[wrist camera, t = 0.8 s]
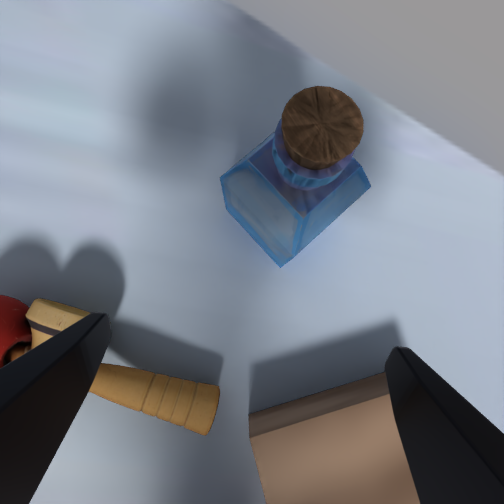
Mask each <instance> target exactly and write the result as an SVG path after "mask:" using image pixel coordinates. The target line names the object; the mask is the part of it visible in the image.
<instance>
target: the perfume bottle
mask: <svg viewBox="0 0 504 504" xmlns="http://www.w3.org/2000/svg"><path fill="white" fill-rule="evenodd" d="M362 135H363V118H362V115H361V112H360V109H359V108H358V106H357V105H356V104H355V102H354V101H353V100H352V99H351V98H350V97H349V96H347V95H346V94H345V93H343V92H342V91H340V90H337V89H334V88H331V87H324V86H315V87H310V88H306V89H304V90H302V91H300V92H298V93H297V94H295V95H294V96H293V97H292V98H291V99H290V100H289V101H288V103H287V104H286V106H285V108H284V111H283V113H282V118H281V120H280V121H279V123H278V125H277V128H276V130H275V132H274V133H273V134H271V135H270V136H269V137H268V138H267V139H265V140H264V141H263V142H262V143H261V144H259V145H258V146H257V147H256V148H255V149H253V150H252V151H251V152H250V153H249V154H248V155H246V156H245V157H244V158H243V159H242V160H240V161H239V162H238V163H237V164H236V165H234V166H233V167H232V168H231V169H230V170H228V171H227V172H226V173H225V174H224V175H222V176H221V177H220V181H221V185H222V190H223V195H224V200H225V205H226V209H227V210H228V211H229V213H230V214H231V215H232V216H233V217H234V218H235V219H236V220H237V221H238V222H239V223H240V225H241V226H242V227H243V228H244V229H245V230H246V231H247V232H248V233H249V234H250V235H251V237H252V238H253V239H254V240H255V241H256V242H257V243H258V244H259V245H260V246H261V247H262V249H263V250H264V251H265V252H266V253H267V254H268V255H269V256H270V257H271V258H272V259H273V261H274V262H275V263H276V264H277V265H278V266H279V267H280V268H281V267H282V266H283V265H285V264H286V263H287V262H288V261H290V260H291V259H292V258H294V257H295V256H296V255H297V254H298V253H299V252H300V251H301V250H302V249H303V248H305V247H306V246H307V245H308V244H309V243H310V242H311V241H312V240H313V239H314V238H315V237H317V236H318V235H319V234H320V233H321V232H322V231H323V230H324V229H325V228H326V227H327V226H329V225H330V224H331V223H332V222H333V221H334V220H335V219H336V218H337V217H338V216H340V215H341V214H342V213H343V212H344V211H345V210H346V209H347V208H348V207H349V206H350V205H352V204H353V203H354V202H355V201H356V200H357V199H358V198H359V197H360V196H361V195H362V194H364V193H365V192H366V191H367V190H368V189H369V188H370V187H371V185H370V183H369V181H368V178H367V176H366V174H365V172H364V170H363V168H362V166H361V165H360V164H359V163H358V162H357V161H356V160H355V159H354V158H353V157H352V156H353V153H354V150H355V148H356V147H357V146H358V145H359V143H360V140H361V137H362Z"/></svg>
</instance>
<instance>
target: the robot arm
mask: <svg viewBox="0 0 504 504" xmlns="http://www.w3.org/2000/svg"><path fill="white" fill-rule="evenodd" d="M111 335H112V331H111V326H110V320H109V316H108V314H107V313H102V312H92V313H90V314H89V315H87V316H85V317H84V318H82V319H80V320H79V321H77V322H75V323H74V324H72V325H71V326H69V327H67V328H66V329H64V330H62V331H61V332H59V333H57V334H56V335H54V336H53V337H51V338H49V339H48V340H46V341H44V342H43V343H41V344H39V345H38V346H36V347H35V348H33V349H31V350H30V351H28V352H26V353H25V354H23V355H21V356H20V357H18V358H17V359H15V360H13V361H12V362H10V363H8V364H7V365H5V366H3V367H2V368H0V504H29V503H30V501H31V499H32V497H33V495H34V493H35V491H36V490H37V488H38V486H39V484H40V482H41V480H42V478H43V476H44V474H45V473H46V471H47V469H48V467H49V465H50V463H51V461H52V459H53V458H54V456H55V454H56V452H57V450H58V448H59V446H60V444H61V443H62V441H63V439H64V437H65V435H66V433H67V431H68V429H69V428H70V426H71V424H72V422H73V420H74V418H75V416H76V414H77V412H78V411H79V409H80V407H81V405H82V403H83V401H84V399H85V397H86V396H87V394H88V392H89V390H90V388H91V386H92V383H93V381H94V379H95V376H96V374H97V372H98V369H99V367H100V364H101V362H102V359H103V357H104V354H105V352H106V349H107V347H108V344H109V342H110V339H111ZM385 374H386V379H387V384H388V389H389V394H390V399H391V404H392V409H393V414H394V418H395V422H396V426H397V429H398V432H399V436H400V439H401V442H402V446H403V449H404V452H405V455H406V459H407V462H408V465H409V469H410V472H411V475H412V478H413V482H414V485H415V488H416V491H417V495H418V498H419V501H420V504H504V434H503V433H502V432H501V431H500V430H499V429H498V428H497V427H496V426H495V425H494V424H492V423H491V422H490V421H489V420H488V419H487V418H486V417H485V416H484V415H482V414H481V413H480V412H479V411H478V410H477V409H476V408H475V407H474V406H473V405H471V404H470V403H469V402H468V401H467V400H466V399H465V398H464V397H463V396H462V395H460V394H459V393H458V392H457V391H456V390H455V389H454V388H453V387H452V386H450V385H449V384H448V383H447V382H446V381H445V380H444V379H443V378H442V377H441V376H439V375H438V374H437V373H436V372H435V371H434V370H433V369H432V368H431V367H430V366H428V365H427V364H426V363H425V362H424V361H423V360H422V359H421V358H420V357H419V356H417V355H416V354H415V353H414V352H413V351H412V350H411V349H409V348H407V347H399V346H395V347H394V348H393V349H392V351H391V353H390V355H389V357H388V359H387V361H386V363H385Z"/></svg>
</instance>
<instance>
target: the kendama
mask: <svg viewBox="0 0 504 504" xmlns="http://www.w3.org/2000/svg"><path fill="white" fill-rule="evenodd" d="M89 314H90V313H89V312H87V311H84V310H81V309H77V308H75V307H71V306H68V305H65V304H61V303H58V302H54V301H50V300H46V299H41V298H39V299H35V300H34V301H33V303H32V305H31V306H30V308H29V307H28V306H27V305H25V304H24V303H22V302H21V301H19V300H17V299H14V298H11V297H8V296H4V295H0V368H2V367H3V366H5V365H7V364H8V363H10V362H12V361H13V360H15V359H17V358H18V357H20V356H21V355H23V354H25V353H26V352H28V351H30V350H31V349H33V348H35V347H36V346H38V345H39V344H41V343H43V342H44V341H46V340H48V339H49V338H51V337H53V336H54V335H56V334H57V333H59V332H61V331H62V330H64V329H66V328H67V327H69V326H71V325H72V324H74V323H75V322H77V321H79V320H80V319H82V318H84V317H85V316H87V315H89ZM110 324H111V322H110ZM89 392H91V393H94V394H96V395H98V396H100V397H103V398H105V399H107V400H110V401H112V402H114V403H117V404H120V405H122V406H125V407H128V408H131V409H133V410H136V411H142V412H143V413H145V414H148V415H151V416H157V418H159V419H162V420H165V421H170V422H171V423H173V424H176V425H179V426H184V428H186V429H189V430H191V431H194V432H196V433H199V434H201V435H207V434H208V432H209V431H210V429H211V426H212V424H213V421H214V418H215V415H216V411H217V407H218V402H219V395H220V389H219V386H216V385H210V384H205V383H199V382H198V383H196V382H194V381H189V380H183V379H180V378H176V377H169V376H166V375H162V374H155V373H153V372H149V371H145V370H141V369H136V368H131V367H125V366H120V365H112V364H105V363H101V364H100V367H99V369H98V372H97V374H96V376H95V379H94V381H93V383H92V386H91V388H90V390H89Z"/></svg>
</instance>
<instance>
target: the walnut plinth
mask: <svg viewBox="0 0 504 504" xmlns="http://www.w3.org/2000/svg"><path fill="white" fill-rule="evenodd" d="M249 438H250V442H251V446H252V450H253V454H254V457H255V461H256V465H257V469H258V473H259V477H260V481H261V485H262V488H263V492H264V496H265V500H266V504H420V501H419V498H418V495H417V491H416V488H415V485H414V482H413V478H412V475H411V472H410V469H409V465H408V462H407V459H406V455H405V452H404V449H403V446H402V442H401V439H400V436H399V432H398V429H397V426H396V422H395V418H394V414H393V409H392V404H391V399H390V394H389V389H388V384H387V379H386V374H385V372H383V373H380V374H377V375H374V376H371V377H367V378H364V379H361V380H358V381H354V382H351V383H348V384H345V385H342V386H338V387H335V388H332V389H329V390H326V391H322V392H319V393H316V394H313V395H310V396H306V397H303V398H300V399H297V400H293V401H290V402H287V403H284V404H281V405H277V406H274V407H271V408H268V409H265V410H261V411H258V412H255V413H252V414H249Z"/></svg>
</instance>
